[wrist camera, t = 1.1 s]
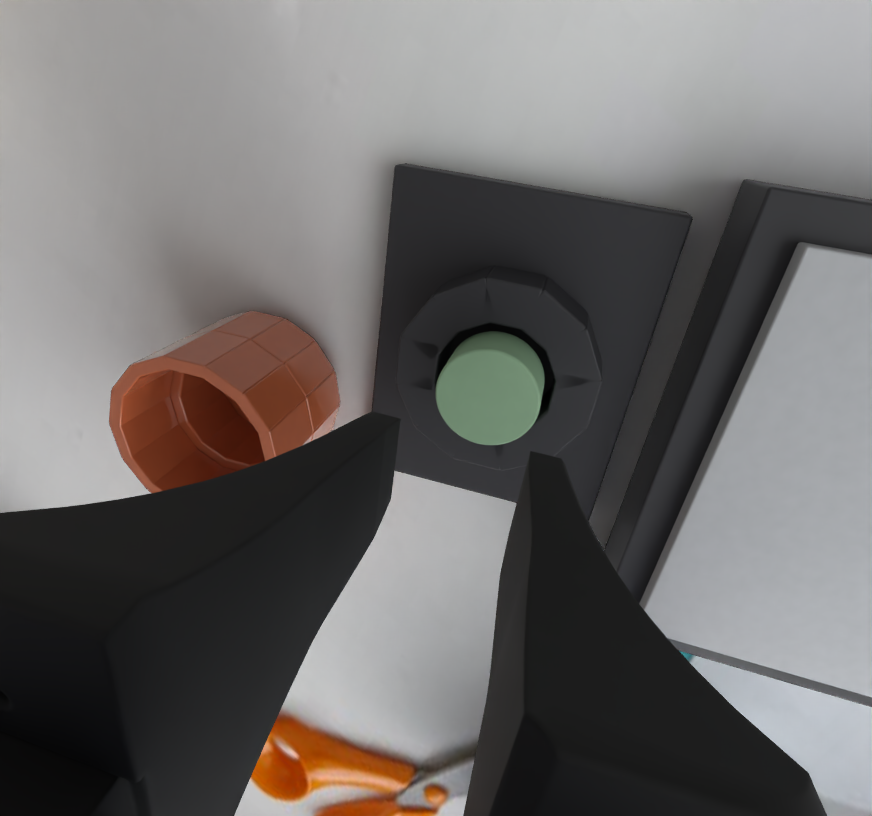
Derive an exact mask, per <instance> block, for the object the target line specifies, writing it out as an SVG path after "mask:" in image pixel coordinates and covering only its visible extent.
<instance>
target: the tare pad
mask: <svg viewBox="0 0 872 816" xmlns="http://www.w3.org/2000/svg"><path fill="white" fill-rule="evenodd" d="M692 220H693V219H692V216H691V215H689V214H688V213H687V212H683V211H677V210H671V209H665V208H660V207H654V206H648V205H642V204H637V203H631V202H625V201H619V200H614V199H608V198H602V197H596V196H591V195H585V194H579V193H573V192H568V191H562V190H556V189H550V188H545V187H539V186H533V185H527V184H522V183H516V182H510V181H504V180H499V179H493V178H487V177H481V176H476V175H470V174H464V173H458V172H453V171H447V170H441V169H435V168H430V167H424V166H418V165H412V164H407V163H405V164H398V165H396V166H395V170H394V181H393V191H392V202H391V212H390V223H389V233H388V244H387V254H386V265H385V276H384V286H383V297H382V307H381V318H380V328H379V339H378V349H377V360H376V370H375V381H374V391H373V402H372V412H377V413H381V414H385V415H389V416H393V417H397V418H401V421H400V429H399V437H398V445H397V453H396V461H395V469H394V471H398V472H402V473H406V474H410V475H413V476H417V477H421V478H425V479H428V480H432V481H436V482H440V483H444V484H447V485H451V486H455V487H459V488H462V489H466V490H470V491H474V492H478V493H481V494H485V495H489V496H493V497H496V498H500V499H504V500H508V501H512V502H515V503H517V501H518V497H519V493H520V489H521V485H522V482H523V478H524V474H525V470H526V466H527V462H528V459H529V455H530V451H533V452H537V453H541V454H545V455H549V456H553V457H557V458H561V459H562V460H563V462H564V463H565V465H566V469H567V472H568V475H569V478H570V480H571V483H572V486H573V488H574V491H575V493H576V495H577V498H578V500H579V502H580V505H581V507H582V509H583V511H584V513H585V515H586V517H587V519H588V520H589V519H590V516H591V513H592V510H593V507H594V504H595V501H596V498H597V495H598V493H599V490H600V487H601V484H602V481H603V478H604V475H605V472H606V469H607V466H608V464H609V461H610V458H611V455H612V452H613V449H614V446H615V443H616V440H617V437H618V435H619V432H620V429H621V426H622V423H623V420H624V417H625V414H626V411H627V408H628V406H629V403H630V400H631V397H632V394H633V391H634V388H635V385H636V382H637V379H638V376H639V374H640V371H641V368H642V365H643V362H644V359H645V356H646V353H647V350H648V347H649V345H650V342H651V339H652V336H653V333H654V330H655V327H656V324H657V321H658V318H659V316H660V313H661V310H662V307H663V304H664V301H665V298H666V295H667V292H668V289H669V287H670V284H671V281H672V278H673V275H674V272H675V269H676V266H677V263H678V260H679V258H680V255H681V252H682V249H683V246H684V243H685V240H686V237H687V234H688V231H689V229H690V226H691V223H692ZM489 331H498V332H505V333H508V334H511V335H514V336H516V337H518V338H520V339H522V340H523V341H525V342H526V343H527V344H528V345H529V346H530V347H531V348H532V349H533V350H534V351H535V352H536V354H537V355H538V357H539V359H540V361H541V363H542V366H543V370H544V376H545V383H544V389H543V394H542V400H541V405H540V411H539V414H538V417H537V419H536V421H535V423H534V424H533V425H532V427H531V428H530V429H529V430H528V431H527V432H526V433H525V434H524V435H522V436H521V437H519V438H518V439H516V440H514V441H511V442H509V443H505V444H500V445H483V444H477V443H474V442H471V441H469V440H467V439H464V438H463V437H461V436H459V435H458V434H457V433H455V432H454V431H453V430H452V429H451V428H450V427H449V426H448V425H447V424H446V422H445V421H444V419H443V418H442V416H441V414H440V412H439V409H438V406H437V402H436V393H435V392H436V384H437V380H438V377H439V375H440V373H441V371H442V370H443V368H444V366H445V365H446V363H447V362H448V360H449V358H450V357H451V355H452V354H453V352H454V351H455V349H456V348H457V347H458V346H459V345H460V344H461V343H462V342H463V341H464V340H466V339H467V338H469V337H471V336H473V335H476V334H478V333H482V332H489Z"/></svg>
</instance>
